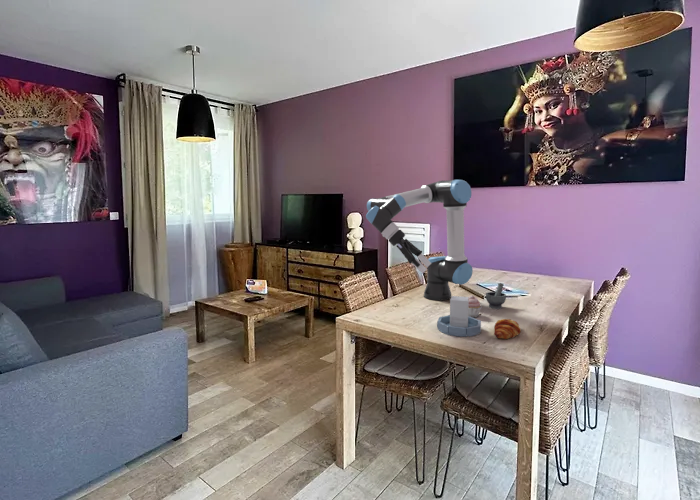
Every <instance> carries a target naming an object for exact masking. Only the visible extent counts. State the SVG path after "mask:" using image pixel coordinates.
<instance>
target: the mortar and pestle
mask: <svg viewBox="0 0 700 500" xmlns="http://www.w3.org/2000/svg"><path fill="white" fill-rule="evenodd" d="M503 287H504V283H501V282H499V283H497V287H496V290H495V291H488V292H486V293H485V299H486V301H487V303H488V307H489V308H490V309H493V310H501V309H503V305H504V304H505V302H506V300H507V294H506V293H503Z"/></svg>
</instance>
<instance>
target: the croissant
mask: <svg viewBox="0 0 700 500" xmlns="http://www.w3.org/2000/svg"><path fill="white" fill-rule="evenodd" d="M493 327H494V328H493V335H494V337H495V338H497V339H503V340H508V339H513V338H514V337H516V336H518V335H520V334H521V327H520V325H519V323H518V322H517V321H516V320H512V319H510V318H509V319H508V318H502V319H499V320H497V321H496V323H495V324H494V326H493Z"/></svg>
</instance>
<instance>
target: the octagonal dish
mask: <svg viewBox="0 0 700 500" xmlns="http://www.w3.org/2000/svg"><path fill="white" fill-rule="evenodd" d="M436 325H437V326H436V327H437V330H438V331H439V332H441V333H442V334H444V335H448V336H451V337H452V336H454V337H463V338H464V337H465V338H467V336H469V337H476V336H479V335H480V334H481V333H482V320H480V319H477V318H476V317H470V316H468V327H467V328H463V327H454V326H450V314H449V315H444V316H443V315H442V316H439V317H438V319H437V323H436Z"/></svg>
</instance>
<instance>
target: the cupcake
mask: <svg viewBox="0 0 700 500" xmlns="http://www.w3.org/2000/svg"><path fill="white" fill-rule="evenodd" d="M468 297H469V306H468V316H470V317H472V318H478V317H479V315H480V311H481V310H482V308H483V307H482V305H481V303H480V301H479V299H478V298H477V297H475V296H474V295H470V296H468Z"/></svg>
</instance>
